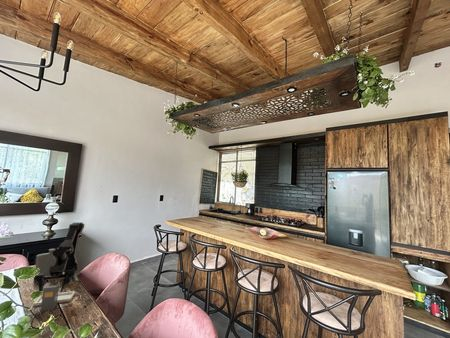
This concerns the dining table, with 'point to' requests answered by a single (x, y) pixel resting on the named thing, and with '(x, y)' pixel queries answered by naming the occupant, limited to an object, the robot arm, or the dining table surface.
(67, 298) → the tray
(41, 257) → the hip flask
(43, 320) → the dining table surface
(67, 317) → the dining table surface
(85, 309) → the dining table surface
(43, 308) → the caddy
